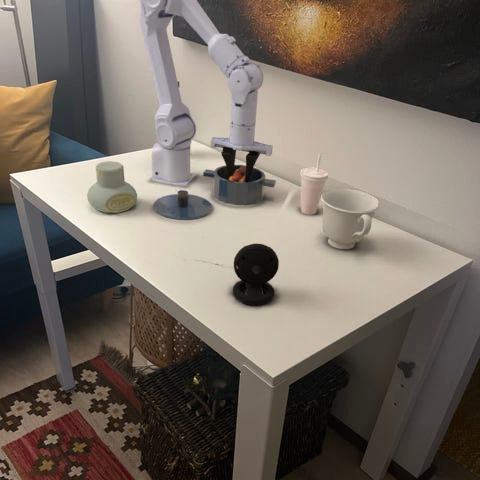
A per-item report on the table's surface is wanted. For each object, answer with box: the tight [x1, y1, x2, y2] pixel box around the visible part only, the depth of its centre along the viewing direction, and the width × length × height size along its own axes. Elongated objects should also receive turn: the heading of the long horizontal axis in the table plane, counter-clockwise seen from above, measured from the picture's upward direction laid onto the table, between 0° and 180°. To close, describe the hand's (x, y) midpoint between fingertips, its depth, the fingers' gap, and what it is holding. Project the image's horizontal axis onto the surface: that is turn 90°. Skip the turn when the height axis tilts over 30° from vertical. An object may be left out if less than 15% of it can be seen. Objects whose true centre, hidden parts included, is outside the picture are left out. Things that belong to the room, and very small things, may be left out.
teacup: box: [320, 188, 381, 250], centre depth 104 cm, size 12×15×10 cm
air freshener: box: [86, 160, 138, 214], centre depth 111 cm, size 11×8×10 cm
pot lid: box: [153, 189, 213, 221], centre depth 115 cm, size 13×13×4 cm
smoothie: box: [299, 152, 329, 215], centre depth 116 cm, size 6×6×14 cm
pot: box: [202, 164, 277, 206], centre depth 123 cm, size 12×18×6 cm
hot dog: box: [229, 166, 246, 182], centre depth 122 cm, size 8×3×4 cm, turn 165°
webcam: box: [232, 243, 280, 306], centre depth 86 cm, size 8×8×10 cm
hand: (239, 180), depth 122 cm, fingers closed on hot dog, 3 cm apart
